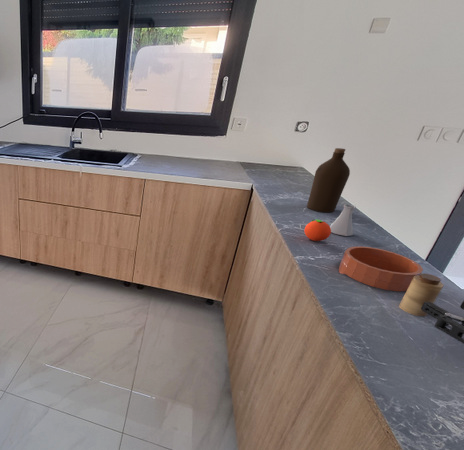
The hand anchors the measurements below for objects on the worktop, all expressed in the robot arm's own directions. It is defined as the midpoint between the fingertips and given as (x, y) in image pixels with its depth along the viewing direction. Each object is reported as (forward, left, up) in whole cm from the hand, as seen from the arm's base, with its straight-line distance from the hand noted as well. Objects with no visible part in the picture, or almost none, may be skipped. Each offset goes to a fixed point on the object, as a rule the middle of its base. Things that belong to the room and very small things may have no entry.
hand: (443, 304), depth 65 cm
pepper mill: (+1, -4, -6) cm, 7 cm away
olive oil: (-7, -76, -6) cm, 76 cm away
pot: (+1, -19, -6) cm, 20 cm away
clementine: (+7, -42, -6) cm, 43 cm away
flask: (-4, -51, -6) cm, 51 cm away
